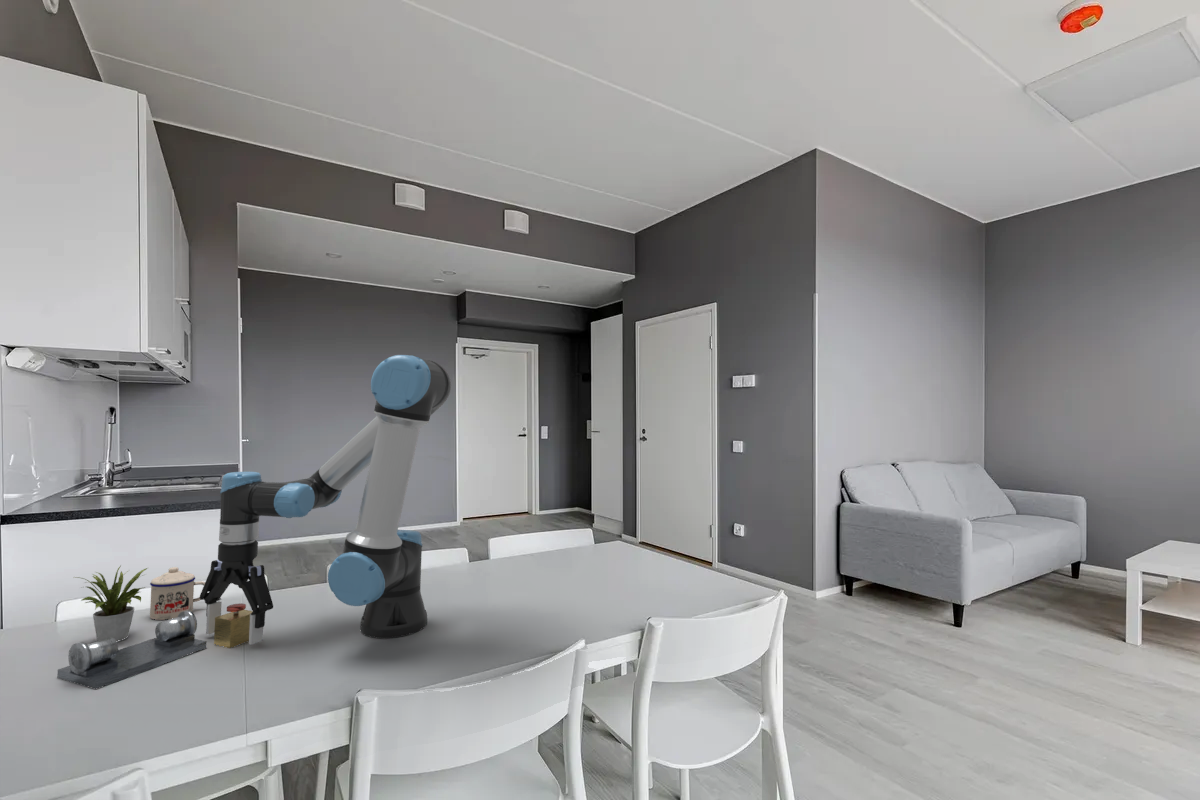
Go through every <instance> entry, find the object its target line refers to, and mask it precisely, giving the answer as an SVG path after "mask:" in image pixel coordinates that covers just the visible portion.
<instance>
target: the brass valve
mask: <svg viewBox="0 0 1200 800" xmlns="http://www.w3.org/2000/svg"><path fill="white" fill-rule="evenodd" d="M246 607H247V604H246V603H235V604H234V603H233V604H230V605H228V606H227V607H226V612H228V613H225V614H221V616H218V617H215V630H214V636H213V645H214V644H216V645H215V646H217V645H219V646H218V647H221V646H224V647H223V648H225V647H227V648H226V649H232V648H234V646H235V647H237V645H238V646H240V645H242V643H243V644H245V643H248V642H249V628H250V614H251V613H252V612H253V610H246V609H247V608H246ZM247 641H248V642H247ZM244 642H245V643H244ZM239 644H240V645H239ZM231 647H232V648H231Z"/></svg>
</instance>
